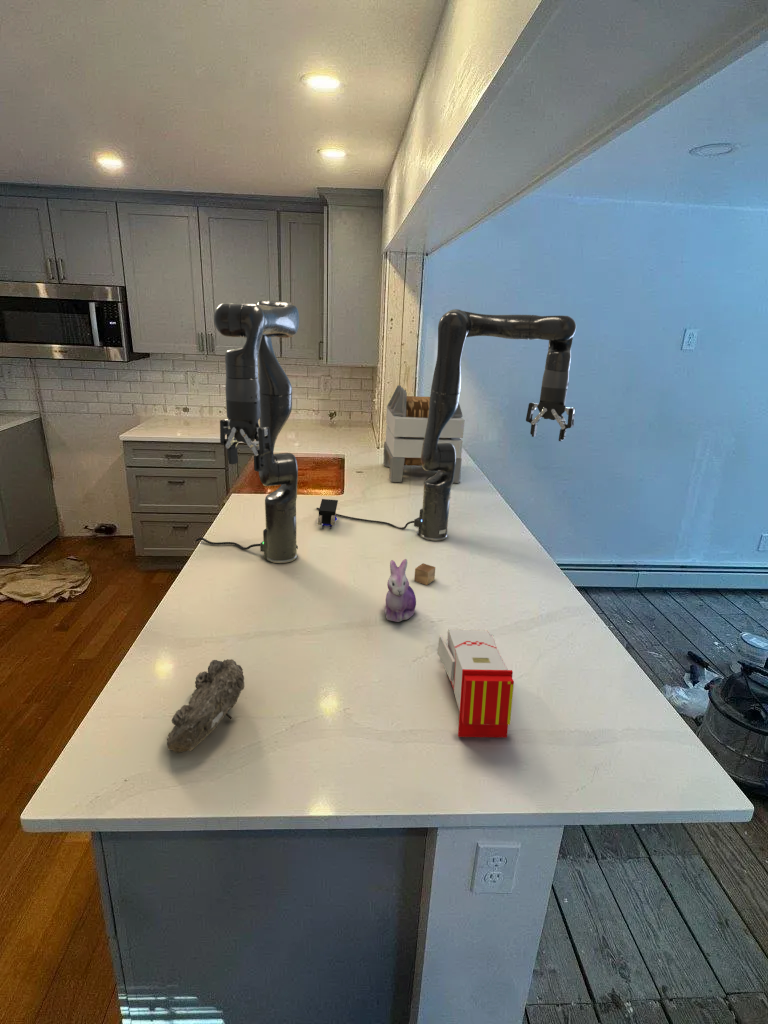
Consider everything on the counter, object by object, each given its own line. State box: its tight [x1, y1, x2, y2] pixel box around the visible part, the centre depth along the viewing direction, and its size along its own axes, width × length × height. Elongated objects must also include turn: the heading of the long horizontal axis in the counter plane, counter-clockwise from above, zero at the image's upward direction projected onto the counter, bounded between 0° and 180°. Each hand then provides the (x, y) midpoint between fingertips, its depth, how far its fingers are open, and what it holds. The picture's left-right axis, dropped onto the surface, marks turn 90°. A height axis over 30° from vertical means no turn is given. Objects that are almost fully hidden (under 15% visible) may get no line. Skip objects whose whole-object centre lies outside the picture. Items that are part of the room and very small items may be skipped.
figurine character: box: [317, 498, 339, 530], centre depth 204 cm, size 7×8×15 cm
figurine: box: [384, 558, 417, 623], centre depth 145 cm, size 9×10×15 cm
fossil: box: [166, 658, 245, 754], centre depth 106 cm, size 22×10×15 cm
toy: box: [437, 628, 515, 738], centre depth 117 cm, size 12×13×30 cm
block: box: [413, 563, 436, 586], centre depth 166 cm, size 4×4×4 cm
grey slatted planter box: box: [383, 384, 465, 484], centre depth 268 cm, size 34×33×41 cm
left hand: (246, 467), depth 133 cm, fingers open, 8 cm apart
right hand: (547, 438), depth 176 cm, fingers open, 8 cm apart
